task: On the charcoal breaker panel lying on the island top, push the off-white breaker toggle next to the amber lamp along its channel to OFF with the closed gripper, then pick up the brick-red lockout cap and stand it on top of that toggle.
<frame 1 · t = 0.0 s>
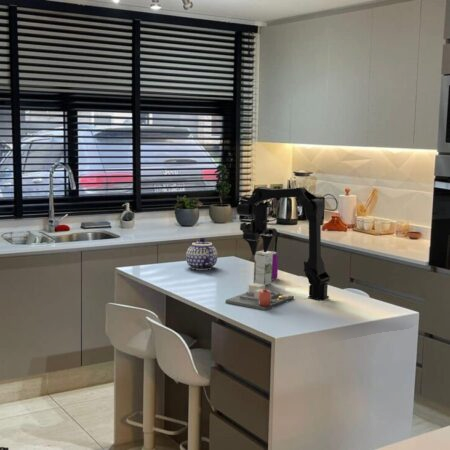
hand: (259, 253, 297), 15 cm above the countertop, fingers open, 9 cm apart
breaker A: (256, 289, 284), point 3 cm above the countertop, slide at 0.0 cm, touching panel
syrup box: (262, 284, 305), on the countertop
lockout cap: (264, 304, 267), point 1 cm above the countertop, touching panel
teapot: (201, 268, 337), on the countertop
breaker B: (262, 295, 274), point 3 cm above the countertop, slide at 0.0 cm, touching panel
beverage can: (268, 278, 317), on the countertop
panel: (260, 300, 277), on the countertop
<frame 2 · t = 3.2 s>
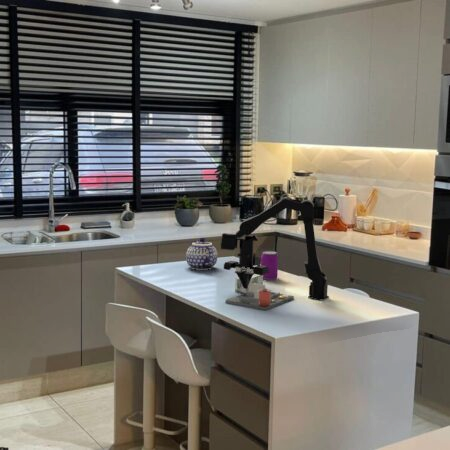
hand: (245, 288, 287), 2 cm above the countertop, fingers closed
syrup box: (258, 279, 302), point 3 cm above the countertop, touching gripper
everything else where it was.
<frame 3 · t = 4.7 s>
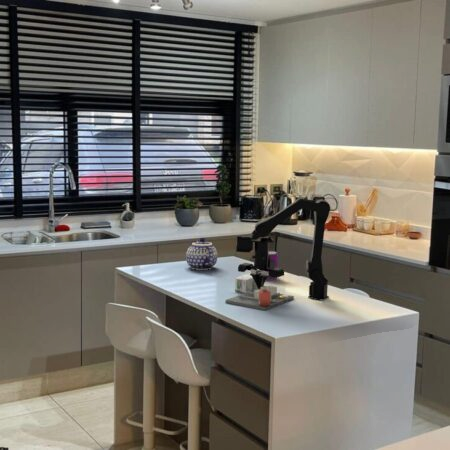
hand: (260, 290, 283), 2 cm above the countertop, fingers closed
breaker A: (268, 291, 281), point 3 cm above the countertop, slide at 5.5 cm, touching gripper, panel
syrup box: (257, 279, 302), point 3 cm above the countertop
everything else where it was.
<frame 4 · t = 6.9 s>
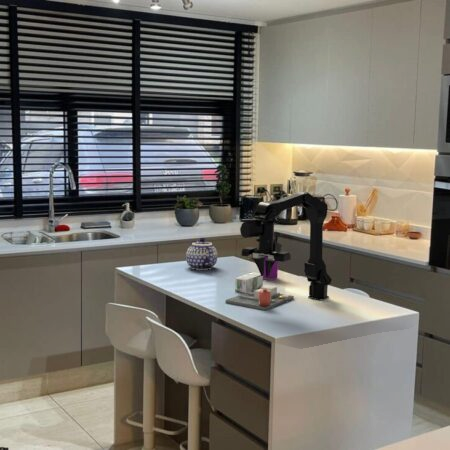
hand: (264, 276, 266), 12 cm above the countertop, fingers closed
breaker A: (268, 291, 281), point 3 cm above the countertop, slide at 5.5 cm, touching panel
everything else where it was.
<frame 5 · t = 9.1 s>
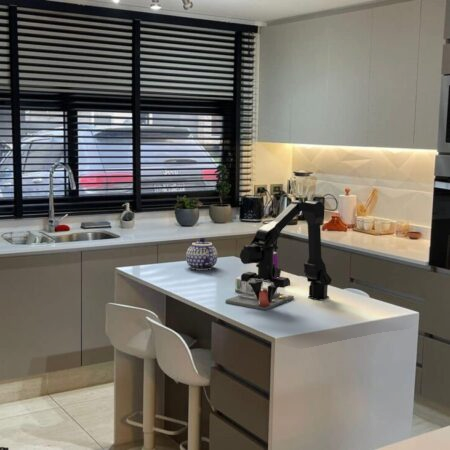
hand: (264, 301, 267), 2 cm above the countertop, fingers closed on lockout cap, 4 cm apart
lockout cap: (264, 304, 267), point 1 cm above the countertop, touching gripper, panel
everything else where it was.
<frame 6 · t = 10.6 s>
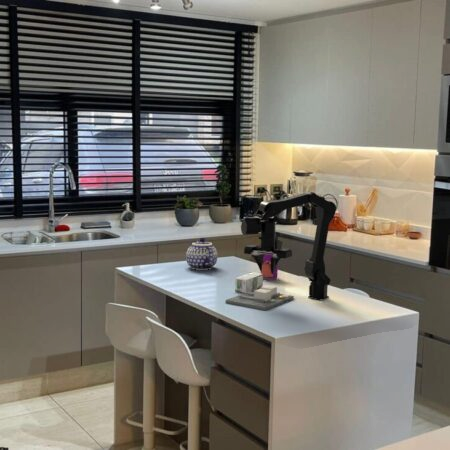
hand: (267, 273, 274), 12 cm above the countertop, fingers closed on lockout cap, 4 cm apart
lockout cap: (267, 275, 274), point 11 cm above the countertop, touching gripper
everything else where it was.
when the fingers open (7 cm above the countertop, at t = 12.2 s): lockout cap stays where it is, resting on breaker A.
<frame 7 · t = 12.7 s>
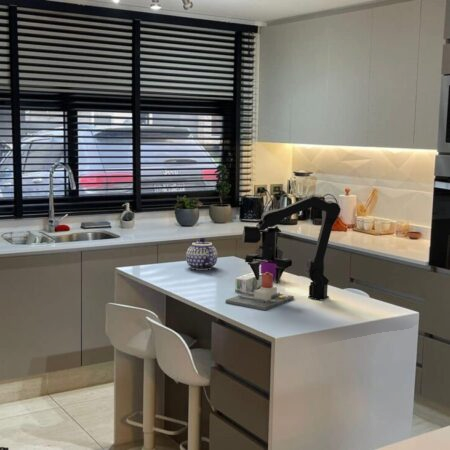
hand: (267, 281, 281), 7 cm above the countertop, fingers open, 9 cm apart
breaker A: (268, 291, 281), point 3 cm above the countertop, slide at 5.5 cm, touching lockout cap, panel
lockout cap: (267, 286, 281), point 5 cm above the countertop, touching breaker A
everything else where it was.
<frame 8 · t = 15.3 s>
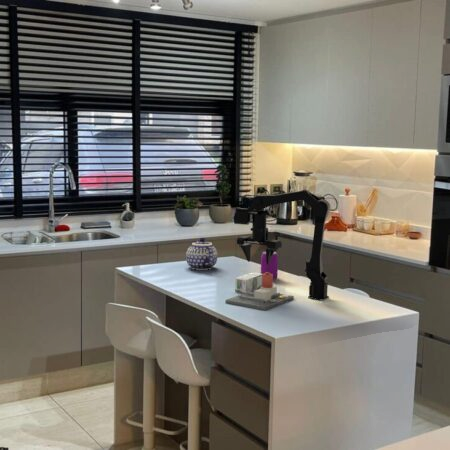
hand: (258, 263, 289), 12 cm above the countertop, fingers open, 9 cm apart
nothing on the countertop moved.
at the end: breaker A slide at 5.5 cm; lockout cap 0.7 cm from the breaker A (horizontally); lockout cap point 4.7 cm above the countertop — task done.
